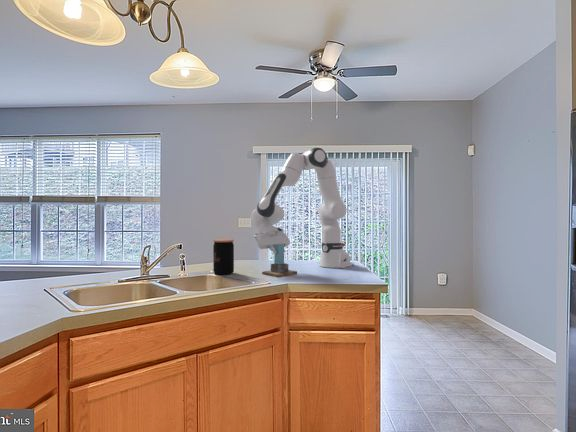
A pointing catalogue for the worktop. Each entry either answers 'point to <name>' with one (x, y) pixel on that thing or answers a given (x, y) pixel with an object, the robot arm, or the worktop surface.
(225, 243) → the coffee jar
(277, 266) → the wooden block on base
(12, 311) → the worktop surface
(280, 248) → the post
